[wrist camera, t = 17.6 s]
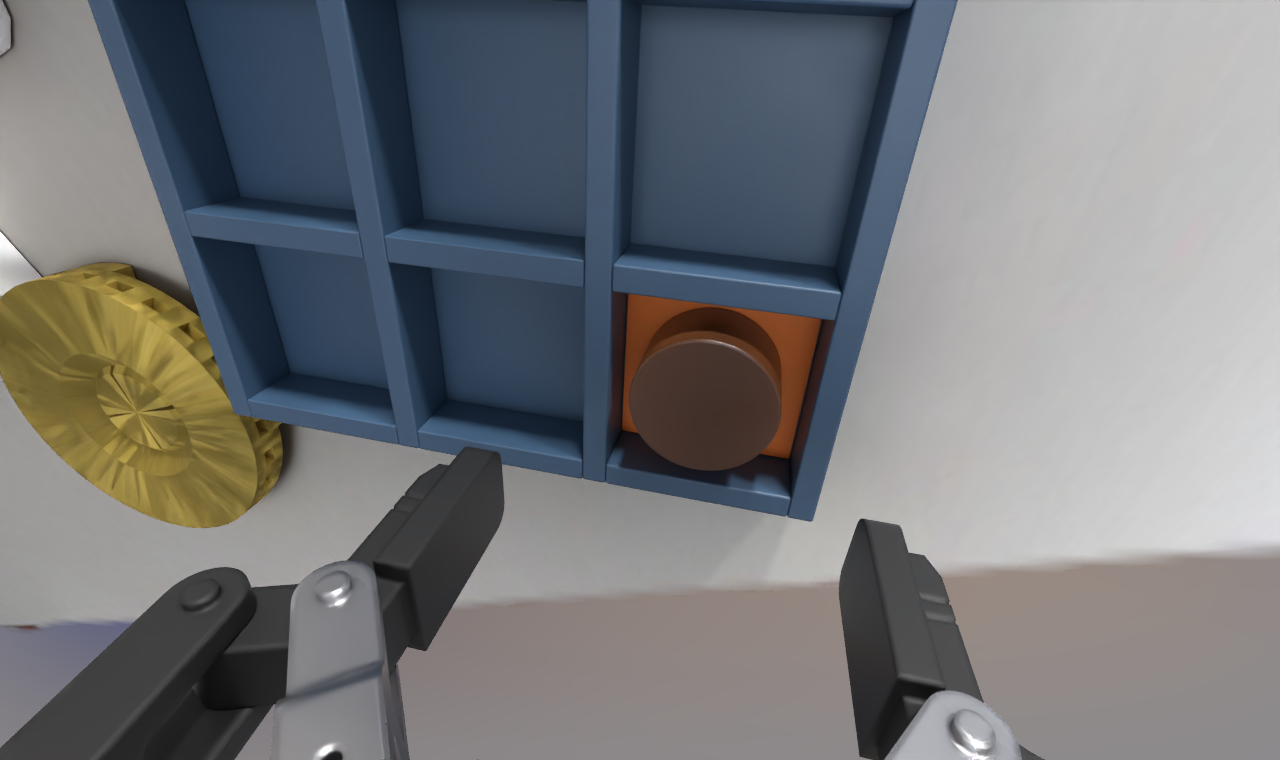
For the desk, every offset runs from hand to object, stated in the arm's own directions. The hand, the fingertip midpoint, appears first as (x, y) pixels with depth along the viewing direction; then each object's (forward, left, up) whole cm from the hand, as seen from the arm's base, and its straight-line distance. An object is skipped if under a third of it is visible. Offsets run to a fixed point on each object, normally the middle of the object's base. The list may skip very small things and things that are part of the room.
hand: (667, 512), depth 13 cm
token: (0, 0, -7) cm, 7 cm away
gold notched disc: (-23, -6, -8) cm, 25 cm away
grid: (-6, +3, -8) cm, 11 cm away
